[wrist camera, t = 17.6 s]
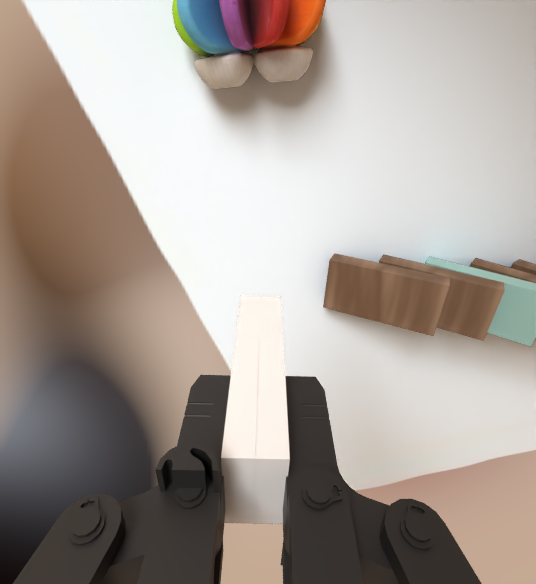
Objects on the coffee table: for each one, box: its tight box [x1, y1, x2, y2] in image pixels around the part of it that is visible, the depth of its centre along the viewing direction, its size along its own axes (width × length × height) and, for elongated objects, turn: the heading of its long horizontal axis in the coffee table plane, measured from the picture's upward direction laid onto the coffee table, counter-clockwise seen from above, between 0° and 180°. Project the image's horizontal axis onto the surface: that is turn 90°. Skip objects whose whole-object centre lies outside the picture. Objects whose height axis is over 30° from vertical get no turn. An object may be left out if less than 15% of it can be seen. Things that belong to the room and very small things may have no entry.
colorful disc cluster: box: [172, 0, 326, 89], centre depth 23 cm, size 8×10×7 cm
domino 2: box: [379, 255, 505, 341], centre depth 33 cm, size 2×5×10 cm
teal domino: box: [425, 257, 536, 346], centre depth 33 cm, size 2×5×10 cm
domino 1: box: [323, 254, 450, 336], centre depth 34 cm, size 2×5×10 cm
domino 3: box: [470, 258, 536, 339], centre depth 33 cm, size 2×5×10 cm
